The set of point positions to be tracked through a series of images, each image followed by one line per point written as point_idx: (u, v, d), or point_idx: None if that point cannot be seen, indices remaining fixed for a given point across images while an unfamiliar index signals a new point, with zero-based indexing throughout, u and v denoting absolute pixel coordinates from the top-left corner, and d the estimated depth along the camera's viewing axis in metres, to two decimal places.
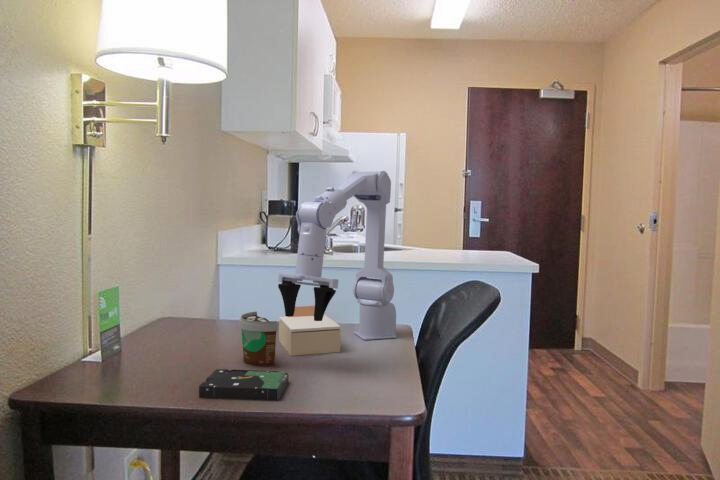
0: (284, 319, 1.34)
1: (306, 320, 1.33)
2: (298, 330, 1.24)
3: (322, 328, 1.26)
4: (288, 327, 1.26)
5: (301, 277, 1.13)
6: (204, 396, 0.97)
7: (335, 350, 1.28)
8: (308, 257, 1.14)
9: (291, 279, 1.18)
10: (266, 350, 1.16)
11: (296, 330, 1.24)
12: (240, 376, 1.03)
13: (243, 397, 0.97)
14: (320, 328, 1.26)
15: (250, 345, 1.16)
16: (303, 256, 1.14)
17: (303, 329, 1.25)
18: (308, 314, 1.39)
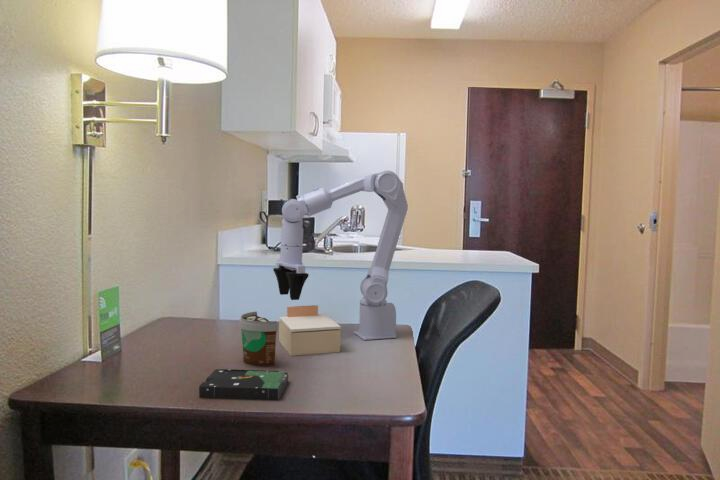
0: (284, 319, 1.34)
1: (306, 320, 1.33)
2: (298, 330, 1.24)
3: (322, 328, 1.26)
4: (288, 327, 1.26)
5: (278, 264, 1.38)
6: (204, 396, 0.97)
7: (335, 350, 1.28)
8: (284, 247, 1.38)
9: None
10: (266, 350, 1.16)
11: (296, 330, 1.24)
12: (240, 375, 1.03)
13: (243, 397, 0.97)
14: (320, 328, 1.26)
15: (250, 345, 1.16)
16: (281, 246, 1.39)
17: (303, 329, 1.25)
18: (308, 314, 1.39)
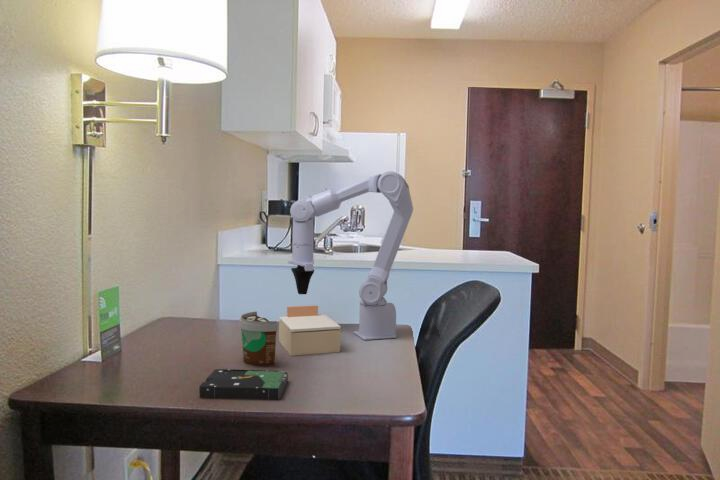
0: (284, 319, 1.34)
1: (306, 320, 1.33)
2: (298, 330, 1.24)
3: (322, 328, 1.26)
4: (288, 327, 1.26)
5: (290, 262, 1.44)
6: (204, 397, 0.97)
7: (335, 350, 1.28)
8: (295, 246, 1.44)
9: None
10: (266, 350, 1.16)
11: (296, 330, 1.24)
12: (240, 375, 1.03)
13: (244, 397, 0.97)
14: (320, 328, 1.26)
15: (250, 345, 1.16)
16: (292, 245, 1.45)
17: (303, 329, 1.25)
18: (308, 314, 1.39)
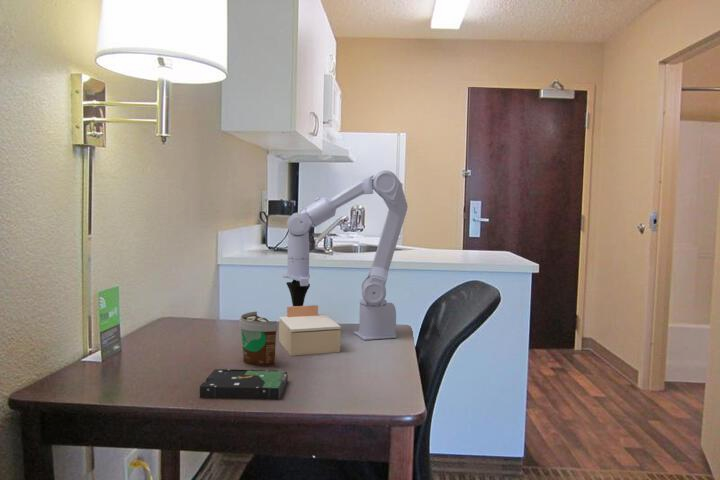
0: (284, 319, 1.34)
1: (306, 320, 1.33)
2: (298, 330, 1.24)
3: (322, 328, 1.26)
4: (288, 327, 1.26)
5: (285, 277, 1.41)
6: (205, 397, 0.97)
7: (335, 350, 1.28)
8: (290, 260, 1.40)
9: None
10: (266, 350, 1.16)
11: (296, 330, 1.24)
12: (240, 375, 1.03)
13: (244, 397, 0.97)
14: (320, 328, 1.26)
15: (250, 345, 1.16)
16: (288, 259, 1.41)
17: (303, 329, 1.25)
18: (308, 314, 1.39)
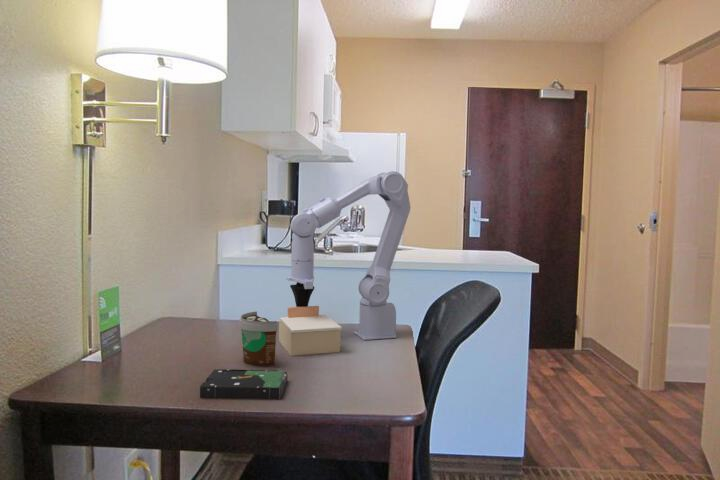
0: (285, 320, 1.33)
1: (307, 321, 1.33)
2: (299, 331, 1.24)
3: (323, 329, 1.26)
4: (289, 328, 1.26)
5: (288, 279, 1.36)
6: (205, 397, 0.97)
7: (335, 350, 1.28)
8: (294, 262, 1.36)
9: None
10: (266, 350, 1.16)
11: (297, 331, 1.23)
12: (240, 375, 1.03)
13: (245, 396, 0.97)
14: (321, 329, 1.25)
15: (250, 345, 1.16)
16: (291, 261, 1.37)
17: (304, 330, 1.24)
18: (309, 315, 1.38)
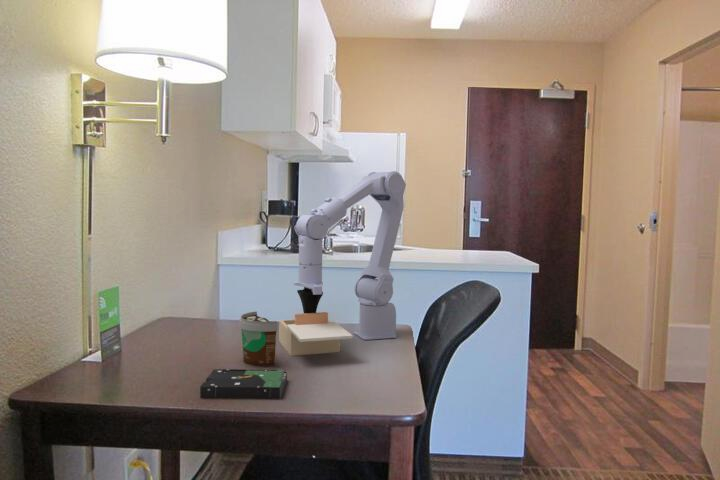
0: (292, 327, 1.25)
1: (315, 328, 1.25)
2: (308, 340, 1.16)
3: (333, 337, 1.18)
4: (297, 336, 1.18)
5: (296, 284, 1.29)
6: (205, 397, 0.97)
7: (335, 350, 1.28)
8: (301, 266, 1.29)
9: None
10: (266, 350, 1.16)
11: (306, 340, 1.16)
12: (240, 375, 1.03)
13: (245, 396, 0.97)
14: (331, 337, 1.18)
15: (250, 345, 1.16)
16: (299, 265, 1.29)
17: (313, 339, 1.16)
18: (317, 322, 1.30)
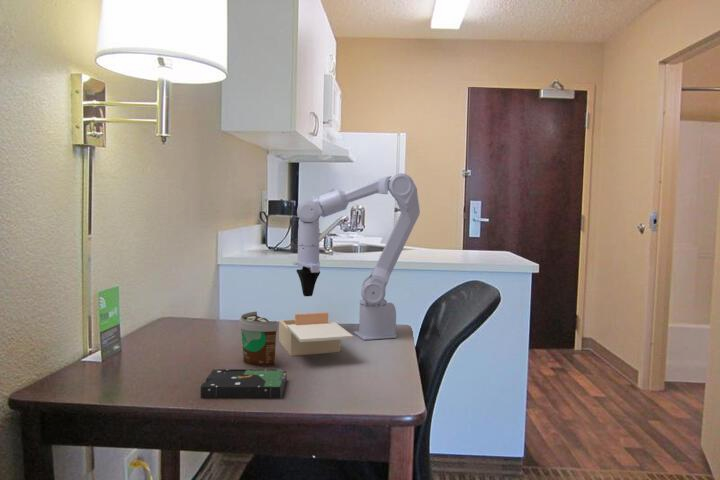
0: (292, 327, 1.25)
1: (316, 329, 1.25)
2: (308, 340, 1.16)
3: (333, 338, 1.18)
4: (297, 337, 1.18)
5: (295, 264, 1.41)
6: (206, 397, 0.97)
7: (335, 350, 1.28)
8: (300, 247, 1.41)
9: None
10: (266, 350, 1.16)
11: (306, 340, 1.16)
12: (240, 375, 1.04)
13: (246, 396, 0.97)
14: (331, 338, 1.18)
15: (250, 345, 1.16)
16: (298, 246, 1.42)
17: (313, 339, 1.16)
18: (317, 322, 1.30)
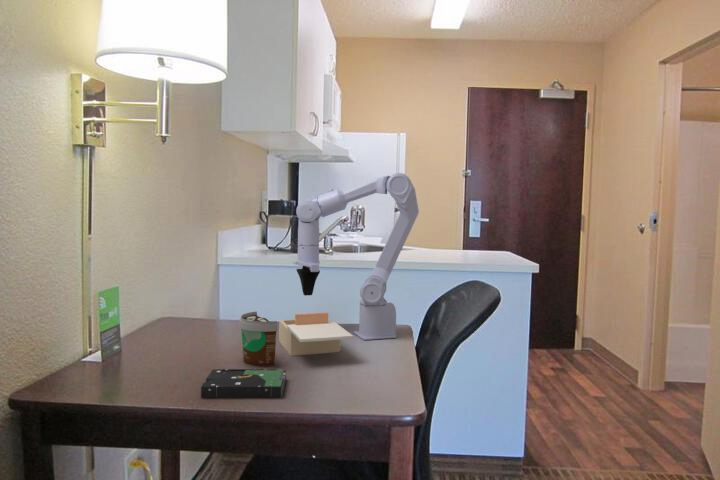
0: (292, 327, 1.25)
1: (316, 329, 1.25)
2: (308, 340, 1.16)
3: (333, 338, 1.18)
4: (297, 337, 1.18)
5: (295, 263, 1.43)
6: (206, 397, 0.97)
7: (335, 350, 1.28)
8: (300, 247, 1.42)
9: None
10: (266, 350, 1.16)
11: (306, 340, 1.16)
12: (240, 375, 1.04)
13: (246, 396, 0.98)
14: (331, 338, 1.18)
15: (250, 345, 1.16)
16: (298, 246, 1.43)
17: (313, 339, 1.16)
18: (317, 322, 1.30)
